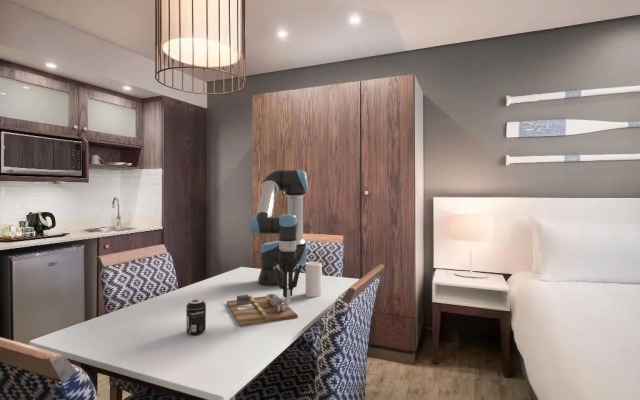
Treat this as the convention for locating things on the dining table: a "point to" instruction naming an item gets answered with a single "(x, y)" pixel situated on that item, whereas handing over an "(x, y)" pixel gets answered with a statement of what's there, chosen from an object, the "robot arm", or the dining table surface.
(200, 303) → the beverage can
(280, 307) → the bar
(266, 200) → the robot arm
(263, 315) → the door board
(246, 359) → the dining table surface
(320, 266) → the cup
